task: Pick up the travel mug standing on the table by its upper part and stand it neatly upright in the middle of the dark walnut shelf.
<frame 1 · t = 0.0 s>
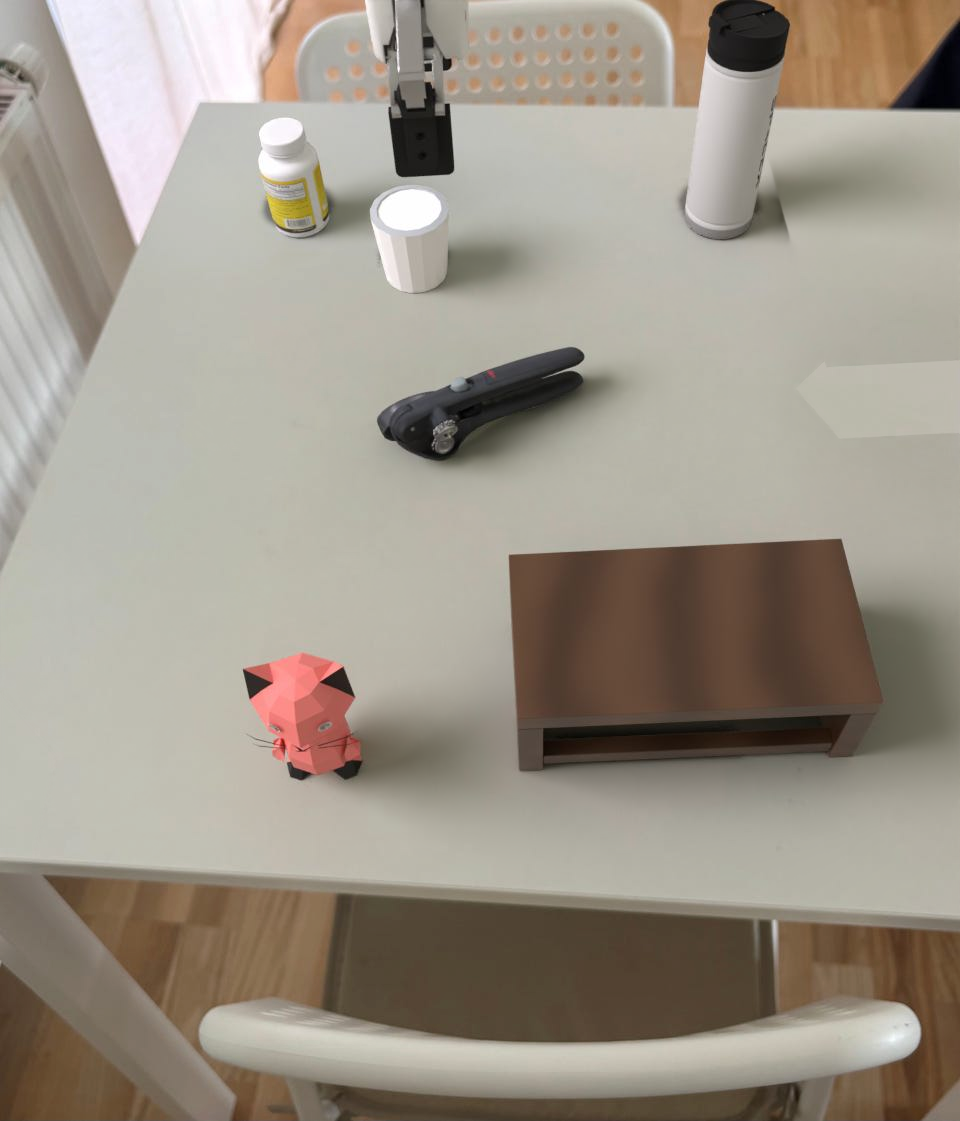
hand: (425, 118, 63), 30 cm above the table, tool pointing down, fingers open, 9 cm apart
shelf: (673, 683, 76), on the table
cat figurine: (325, 753, 75), on the table
can opener: (488, 419, 90), on the table
shot glass: (416, 273, 101), on the table
travel mug: (715, 220, 103), on the table
supplement bottle: (302, 222, 105), on the table
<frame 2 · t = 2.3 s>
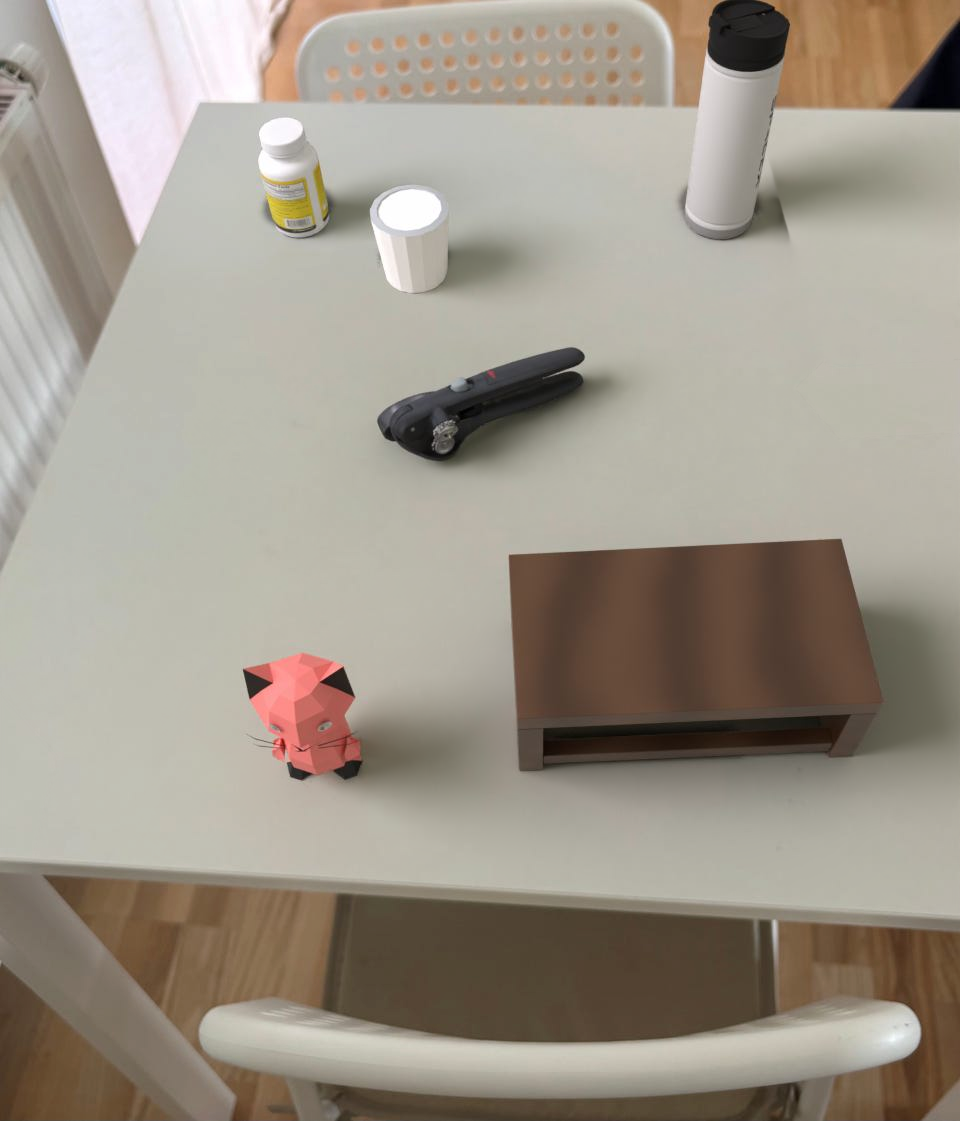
nothing on the table moved.
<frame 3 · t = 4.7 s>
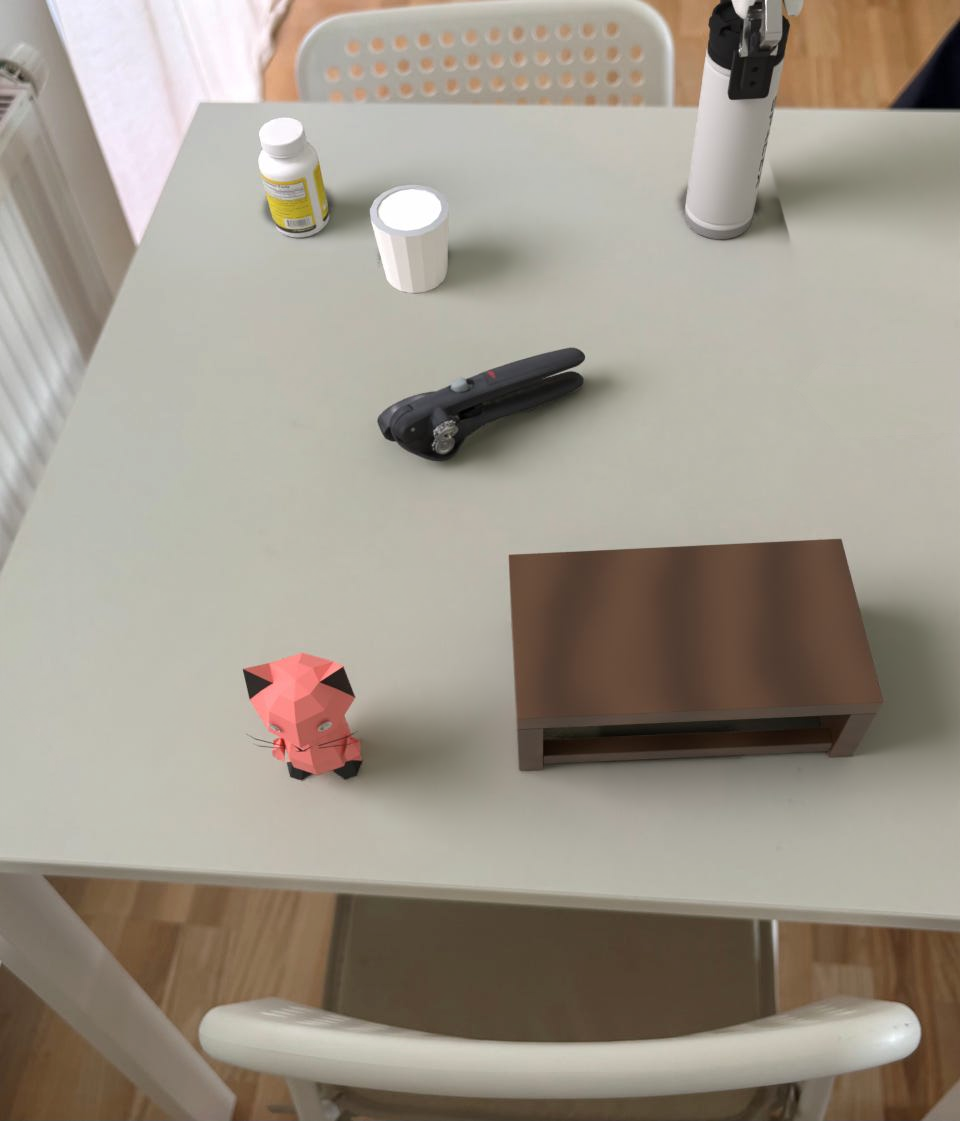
hand: (740, 69, 90), 15 cm above the table, tool pointing down, fingers closed on travel mug, 6 cm apart
travel mug: (715, 220, 103), on the table, touching gripper
everything else where it was.
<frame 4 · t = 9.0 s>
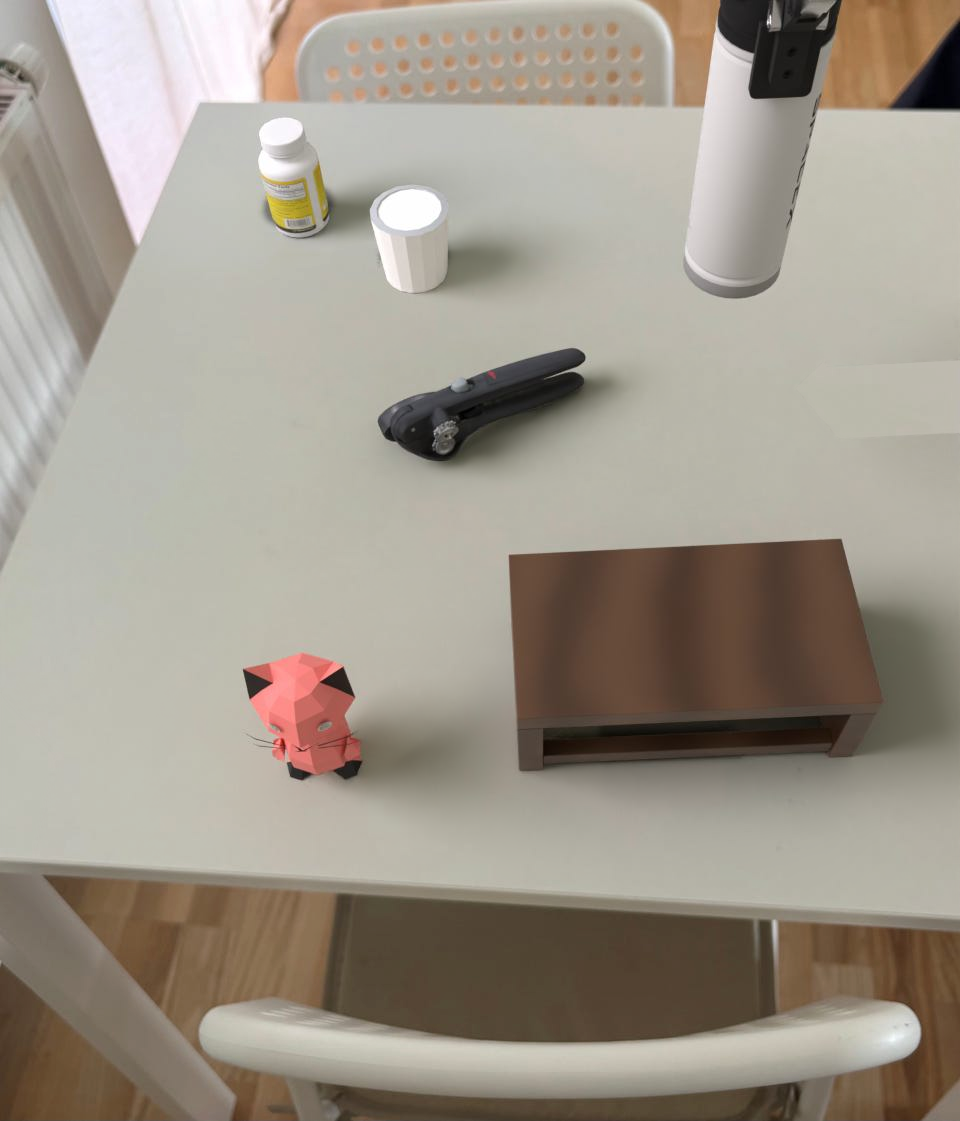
hand: (768, 53, 60), 34 cm above the table, tool pointing down, fingers closed on travel mug, 6 cm apart
travel mug: (728, 270, 72), point 18 cm above the table, touching gripper
everything else where it was.
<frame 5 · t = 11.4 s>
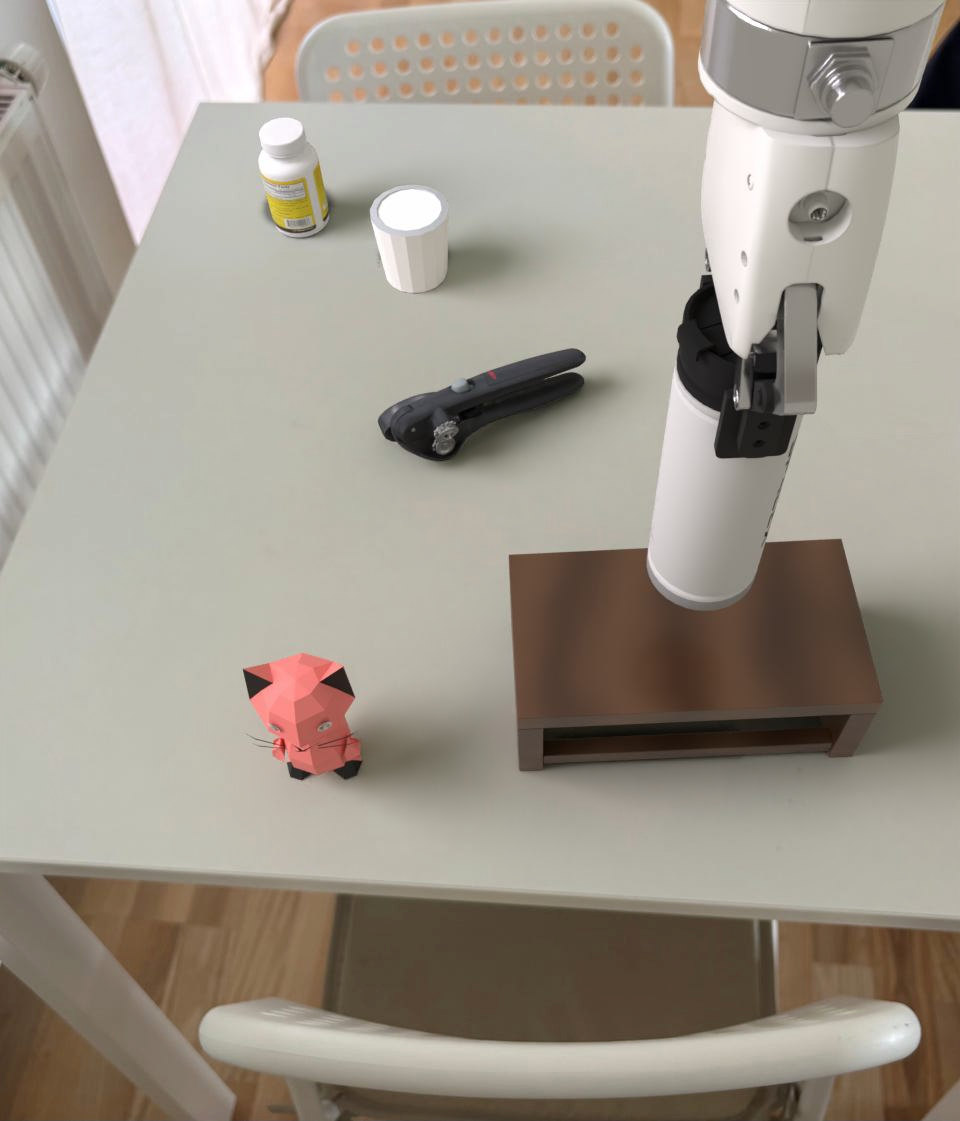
hand: (737, 391, 52), 30 cm above the table, tool pointing down, fingers closed on travel mug, 6 cm apart
travel mug: (697, 570, 64), point 14 cm above the table, touching gripper
everything else where it was.
when the fingers open (23 cm above the table, at t = 13.4 s): travel mug stays where it is, resting on shelf.
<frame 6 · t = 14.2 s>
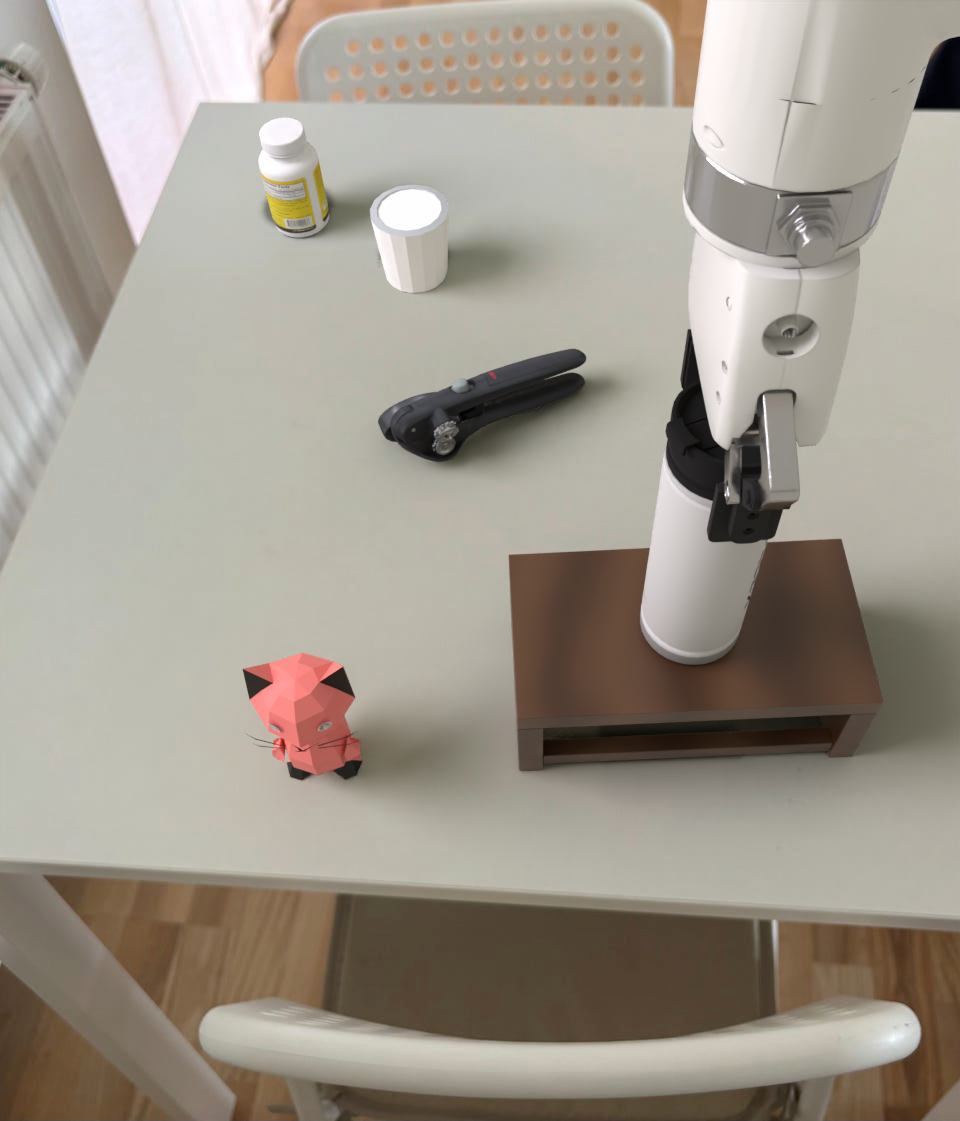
hand: (724, 457, 56), 25 cm above the table, tool pointing down, fingers open, 9 cm apart
travel mug: (686, 625, 70), point 8 cm above the table, touching shelf
everything else where it was.
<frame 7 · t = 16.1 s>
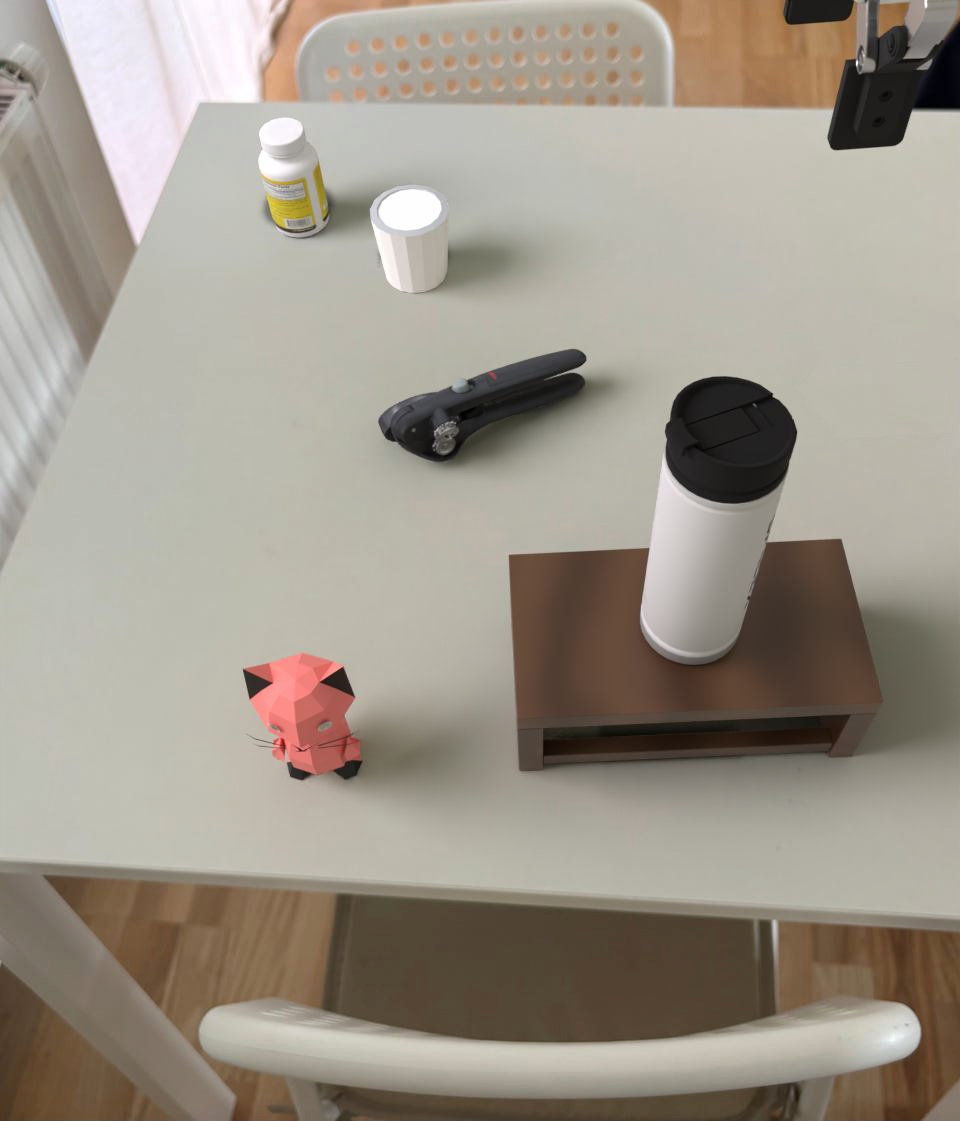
hand: (838, 78, 51), 38 cm above the table, tool pointing down, fingers open, 9 cm apart
nothing on the table moved.
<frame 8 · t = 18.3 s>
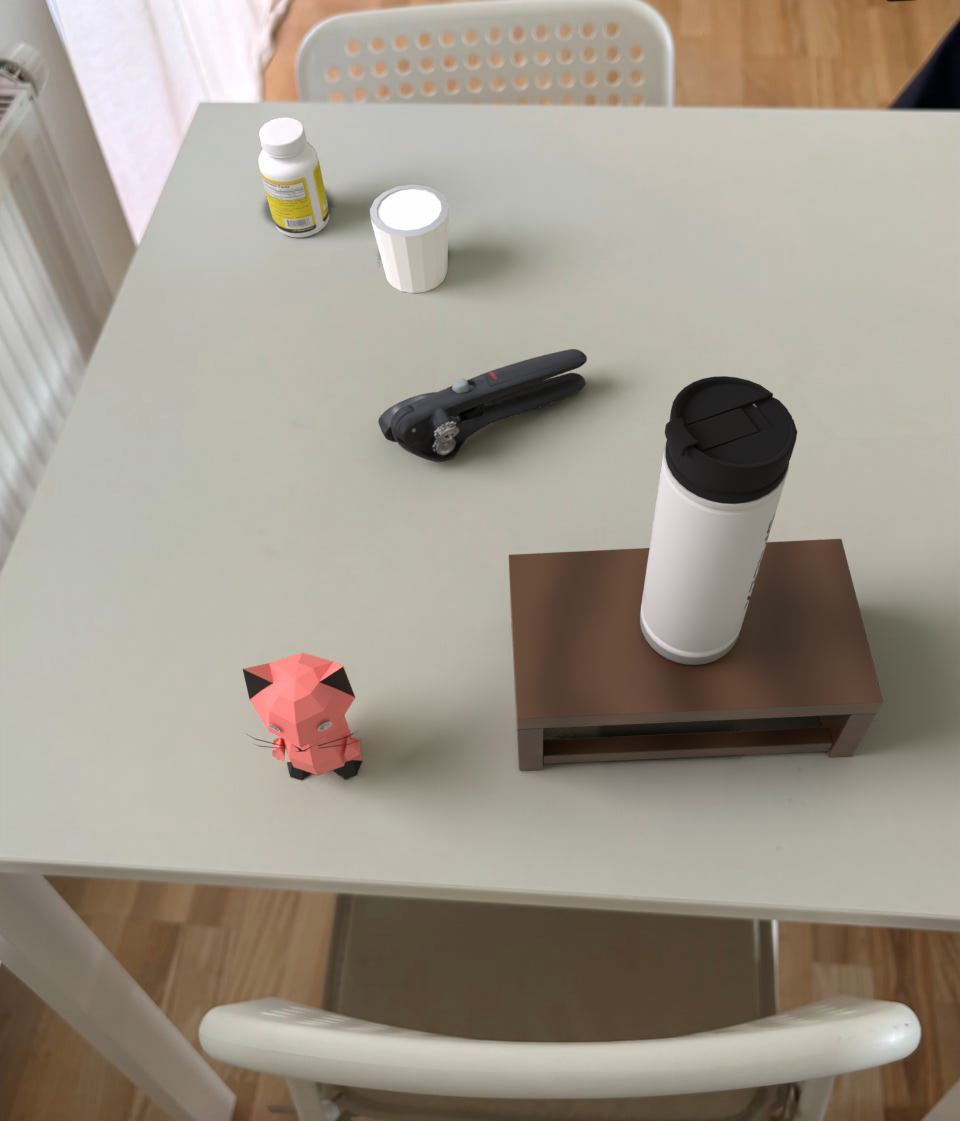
nothing on the table moved.
at the end: travel mug inside the target area on the shelf (0.0 cm from its centre), point 7.8 cm above the shelf's base; travel mug tilted 0°; the gripper is holding nothing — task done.
